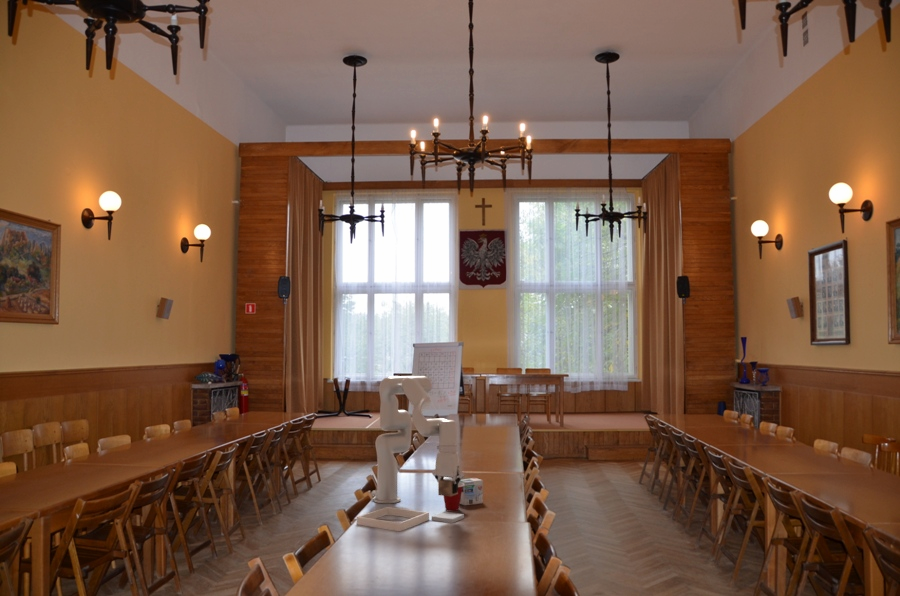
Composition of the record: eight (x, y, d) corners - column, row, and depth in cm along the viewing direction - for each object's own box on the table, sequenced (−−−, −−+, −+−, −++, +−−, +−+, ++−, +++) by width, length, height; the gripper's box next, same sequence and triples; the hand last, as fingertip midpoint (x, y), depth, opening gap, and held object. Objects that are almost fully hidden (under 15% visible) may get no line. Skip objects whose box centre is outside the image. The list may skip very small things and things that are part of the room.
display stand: (431, 520, 297) (431, 516, 297) (443, 515, 305) (443, 511, 305) (452, 522, 292) (452, 519, 292) (464, 517, 300) (464, 514, 300)
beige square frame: (356, 524, 290) (356, 516, 290) (387, 513, 308) (387, 506, 308) (400, 531, 279) (400, 523, 279) (429, 519, 297) (429, 512, 297)
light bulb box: (464, 505, 324) (464, 482, 325) (456, 503, 330) (456, 479, 330) (483, 503, 329) (483, 479, 330) (475, 500, 335) (475, 477, 336)
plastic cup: (462, 513, 309) (461, 485, 310) (438, 511, 312) (438, 484, 313) (467, 507, 320) (466, 480, 321) (443, 506, 322) (443, 479, 323)
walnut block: (438, 495, 298) (438, 480, 298) (445, 492, 303) (445, 478, 304) (450, 496, 295) (450, 481, 295) (457, 493, 300) (457, 479, 301)
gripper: (426, 449, 302) (426, 491, 300) (461, 451, 293) (461, 495, 292) (435, 447, 308) (435, 489, 307) (469, 449, 299) (470, 492, 298)
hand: (448, 491), depth 299 cm, fingers closed on walnut block, 6 cm apart
